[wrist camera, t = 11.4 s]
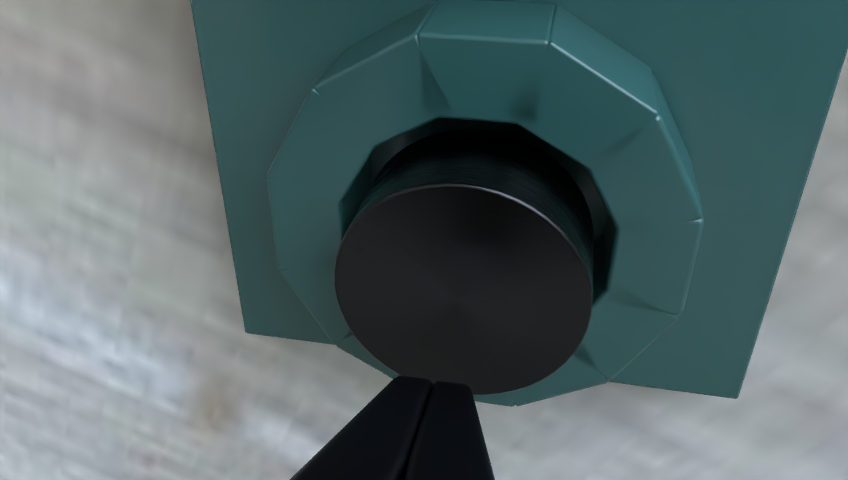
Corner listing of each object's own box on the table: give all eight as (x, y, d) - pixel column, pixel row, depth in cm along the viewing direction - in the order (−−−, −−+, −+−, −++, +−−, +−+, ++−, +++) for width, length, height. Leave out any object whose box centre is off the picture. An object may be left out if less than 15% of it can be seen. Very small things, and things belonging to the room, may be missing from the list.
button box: (842, -63, 11) (926, -3, 8) (726, 343, 16) (754, 475, 13) (223, -85, 13) (114, -42, 10) (273, 287, 17) (207, 393, 14)
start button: (608, 138, 10) (610, 198, 9) (579, 336, 12) (576, 413, 11) (359, 118, 11) (323, 171, 10) (369, 310, 13) (340, 379, 11)
